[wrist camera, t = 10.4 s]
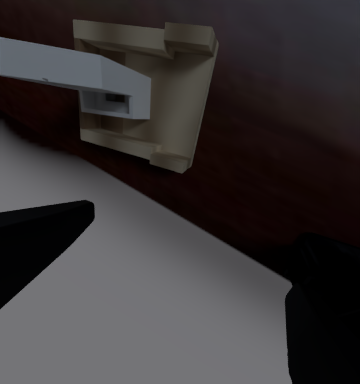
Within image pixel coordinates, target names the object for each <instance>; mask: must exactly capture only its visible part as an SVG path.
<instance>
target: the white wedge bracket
mask: <svg viewBox="0 0 360 384" xmlns="http://www.w3.org/2000/svg"><path fill="white" fill-rule="evenodd" d="M0 76H4V77H10V78H15V79H21V80H26V81H32V82H37V83H42V84H48V85H53V86H59V87H64V88H70V89H75V90H79V95H80V103H81V112H87V113H94V114H101V115H108V116H115V117H122V118H129V119H150V95H151V78H149V77H147V76H145V75H143V74H140V73H138V72H136V71H134V70H132V69H129V68H127V67H125V66H123V65H121V64H119V63H116V62H114V61H112V60H110V59H108V58H105V57H103V56H101V55H97V54H91V53H85V52H80V51H74V50H69V49H63V48H58V47H52V46H47V45H41V44H35V43H30V42H24V41H19V40H13V39H8V38H2V37H0ZM116 94H120V95H125V103H123V102H116Z"/></svg>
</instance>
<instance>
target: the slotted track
mask: <svg viewBox="0 0 360 384" xmlns="http://www.w3.org/2000/svg"><path fill="white" fill-rule="evenodd" d="M73 28H74V43H75V51H80V52H85V53H91V54H97V55H101V56H103V57H105V58H108V59H110V60H112V61H114V62H116V63H119V64H121V65H123V66H125V67H127V68H129V69H132V70H134V71H136V72H138V73H140V74H143V75H145V76H147V77H149V78H151V95H150V119H129V118H122V117H115V116H108V115H101V114H94V113H87V112H81V103H80V95H79V90H78V103H79V118H80V133H81V140H84V141H87V142H91V143H94V144H97V145H101V146H104V147H108V148H111V149H114V150H118V151H121V152H125V153H128V154H131V155H135V156H138V157H142V158H145V159H149V160H150V164H152V165H155V166H159V167H162V168H165V169H169V170H172V171H175V172H179V173H183V172H184V171H185V170H187V169H188V168H190V167H191V165H192V161H193V157H194V152H195V148H196V143H197V139H198V134H199V130H200V126H201V121H202V117H203V112H204V108H205V104H206V99H207V95H208V90H209V86H210V81H211V77H212V73H213V68H214V64H215V59H216V55H217V51H218V46H219V44H218V41H217V40H216V37H215V34H214V31H213V28H212V27H208V26H198V25H188V24H178V23H168V22H165V29H156V28H147V27H138V26H129V25H119V24H110V23H101V22H92V21H83V20H73ZM116 102H123V103H125V95H120V94H116Z"/></svg>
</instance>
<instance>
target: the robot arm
mask: <svg viewBox="0 0 360 384" xmlns="http://www.w3.org/2000/svg"><path fill="white" fill-rule="evenodd" d="M94 218H95V213H94V204H93V203H92V202H90V201H87V200H81V201H74V202H68V203H61V204H54V205H47V206H41V207H34V208H27V209H20V210H14V211H7V212H0V309H1V308H2V307H3V306H4V305H5V304H7V303H8V302H9V301H10V300H11V299H12V298H13V297H14V296H15V295H16V294H18V293H19V292H20V291H21V290H22V289H23V288H24V287H25V286H27V284H28V283H30V282H31V281H32V280H33V279H34V278H35V277H36V276H38V275H39V274H40V273H41V272H42V271H43V270H44V269H45V268H46V267H48V266H49V265H50V264H51V263H52V262H53V261H54V260H55V259H56V258H58V257H59V256H60V255H61V254H62V253H63V252H64V251H65V250H66V249H67V248H68V247H69V246H70V245H71V244H72V243H73V242H74V241H75V240H76V239H77V238H78V237H79V236H80V235H81V234H82V233H83V232H84V231H85V229H86V228H87V227H88V226H89V225H90V224H91V223H92V222H93V220H94ZM311 237H314V238H313V239H310V238H311ZM286 273H289V274H286ZM283 275H284V277H286V278H288V279H291V283H292V286H293V287H292V288H291V290H290V291H289V292H288V293H287V295H286V298H285V312H286V332H287V333H286V334H287V349H288V354H287V356H288V368H289V375H290V377H291V380H292V384H360V248H359V247H356V246H352V245H349V244H346V243H343V242H340V241H337V240H334V239H331V238H328V237H324V236H321V235H318V234H315V233H308V234H307V235H306V236H305V238H304V239H303V241H302V242H301V244H300V245H299V247H298V248H296V249H295V250H294V252H293V253H292V255H291V256H290V258H289V259H288V261H287V263H286V267H285V268H284V270H283Z"/></svg>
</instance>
